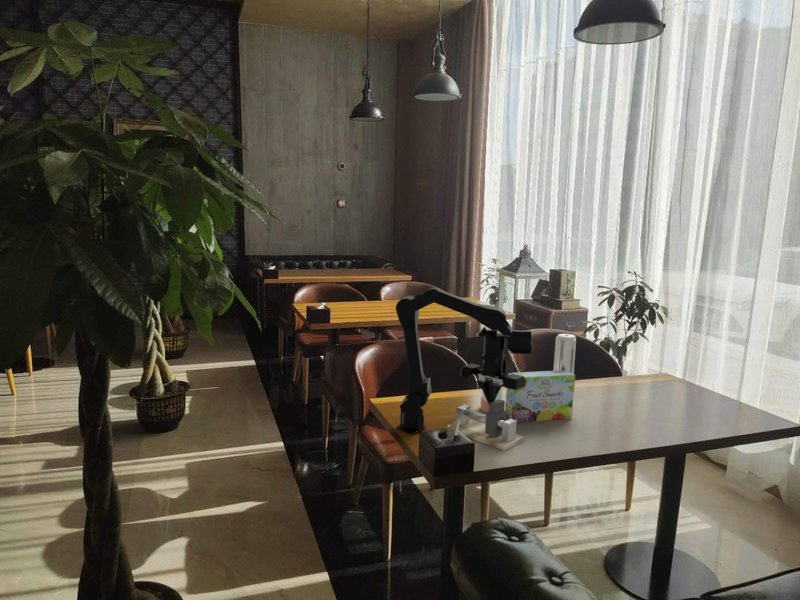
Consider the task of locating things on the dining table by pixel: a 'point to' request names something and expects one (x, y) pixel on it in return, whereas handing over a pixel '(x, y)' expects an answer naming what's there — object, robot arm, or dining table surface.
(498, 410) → the grey upright block
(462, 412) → the pipe rig
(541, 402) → the snack box
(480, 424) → the board
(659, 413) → the dining table surface
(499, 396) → the pepper shaker
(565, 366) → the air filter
